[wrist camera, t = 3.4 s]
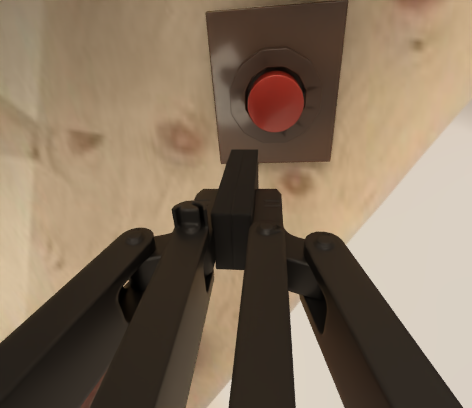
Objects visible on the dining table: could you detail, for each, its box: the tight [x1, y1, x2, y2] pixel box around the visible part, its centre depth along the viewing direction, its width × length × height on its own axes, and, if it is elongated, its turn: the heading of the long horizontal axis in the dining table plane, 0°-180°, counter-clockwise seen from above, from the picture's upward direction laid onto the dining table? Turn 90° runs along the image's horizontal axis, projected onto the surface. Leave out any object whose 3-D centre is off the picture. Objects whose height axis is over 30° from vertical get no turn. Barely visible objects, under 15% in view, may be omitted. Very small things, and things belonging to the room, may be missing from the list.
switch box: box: [206, 0, 348, 164], centre depth 24 cm, size 12×10×4 cm
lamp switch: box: [247, 71, 304, 132], centre depth 22 cm, size 4×4×2 cm
